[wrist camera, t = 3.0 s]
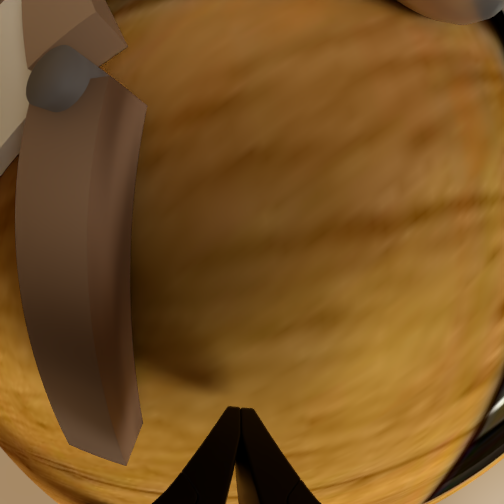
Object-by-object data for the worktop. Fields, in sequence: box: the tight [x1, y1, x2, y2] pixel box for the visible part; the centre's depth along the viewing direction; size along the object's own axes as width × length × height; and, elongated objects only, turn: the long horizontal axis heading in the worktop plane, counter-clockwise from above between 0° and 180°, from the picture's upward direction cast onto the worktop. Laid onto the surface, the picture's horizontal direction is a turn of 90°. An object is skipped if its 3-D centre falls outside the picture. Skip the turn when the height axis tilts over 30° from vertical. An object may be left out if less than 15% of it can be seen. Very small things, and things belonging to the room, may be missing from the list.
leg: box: [15, 45, 147, 466], centre depth 6 cm, size 12×2×3 cm, turn 172°
